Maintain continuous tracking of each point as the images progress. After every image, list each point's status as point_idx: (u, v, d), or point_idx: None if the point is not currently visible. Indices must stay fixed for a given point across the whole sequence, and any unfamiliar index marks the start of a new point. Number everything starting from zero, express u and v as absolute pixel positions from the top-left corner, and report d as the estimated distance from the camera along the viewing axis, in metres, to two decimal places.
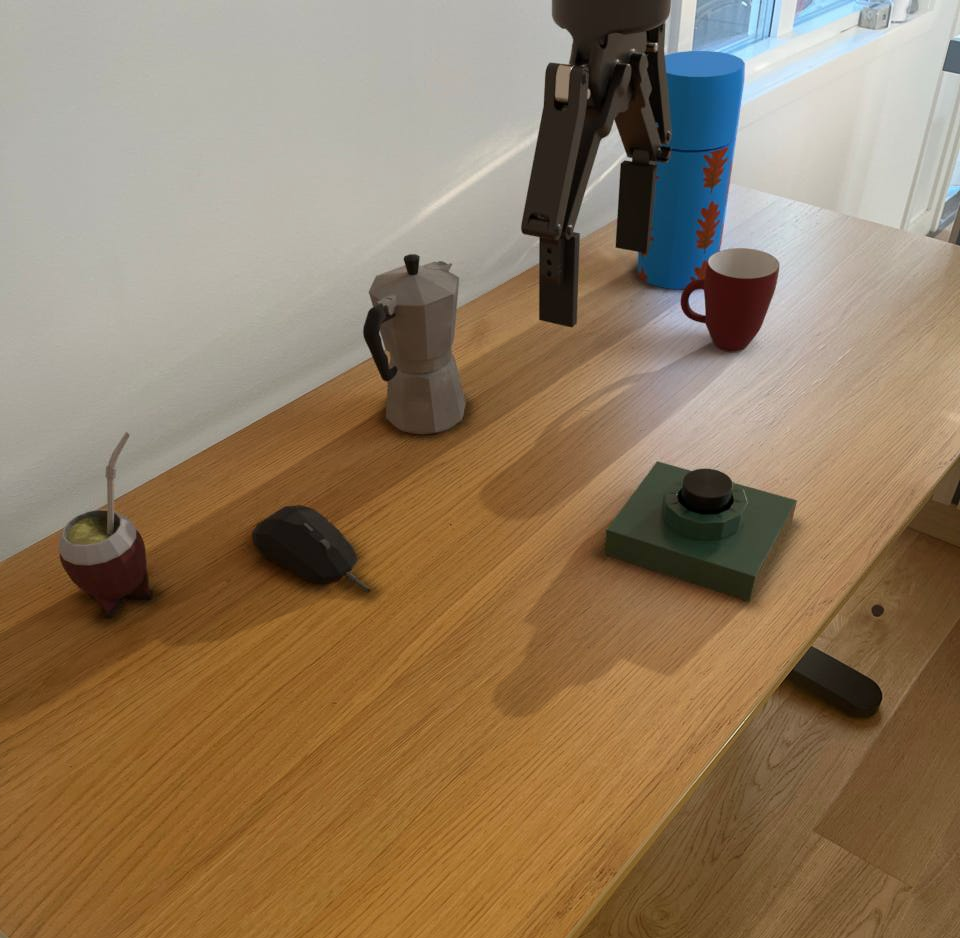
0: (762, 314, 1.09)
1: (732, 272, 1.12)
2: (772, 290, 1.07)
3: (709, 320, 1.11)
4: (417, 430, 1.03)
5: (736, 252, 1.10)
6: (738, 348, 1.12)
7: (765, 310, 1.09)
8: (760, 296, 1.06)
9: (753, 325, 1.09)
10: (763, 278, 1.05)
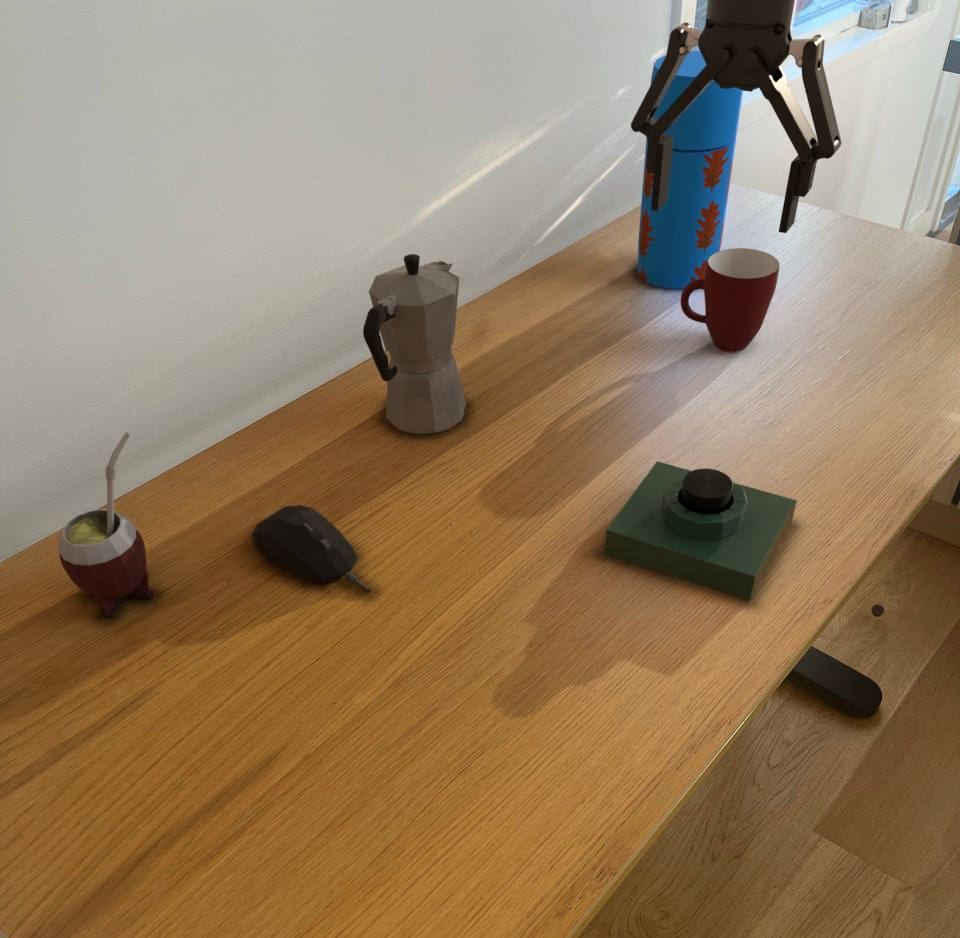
0: (762, 314, 1.09)
1: (732, 272, 1.12)
2: (772, 290, 1.07)
3: (709, 320, 1.11)
4: (417, 430, 1.03)
5: (736, 252, 1.10)
6: (738, 348, 1.12)
7: (765, 310, 1.09)
8: (760, 296, 1.06)
9: (753, 325, 1.09)
10: (763, 278, 1.05)
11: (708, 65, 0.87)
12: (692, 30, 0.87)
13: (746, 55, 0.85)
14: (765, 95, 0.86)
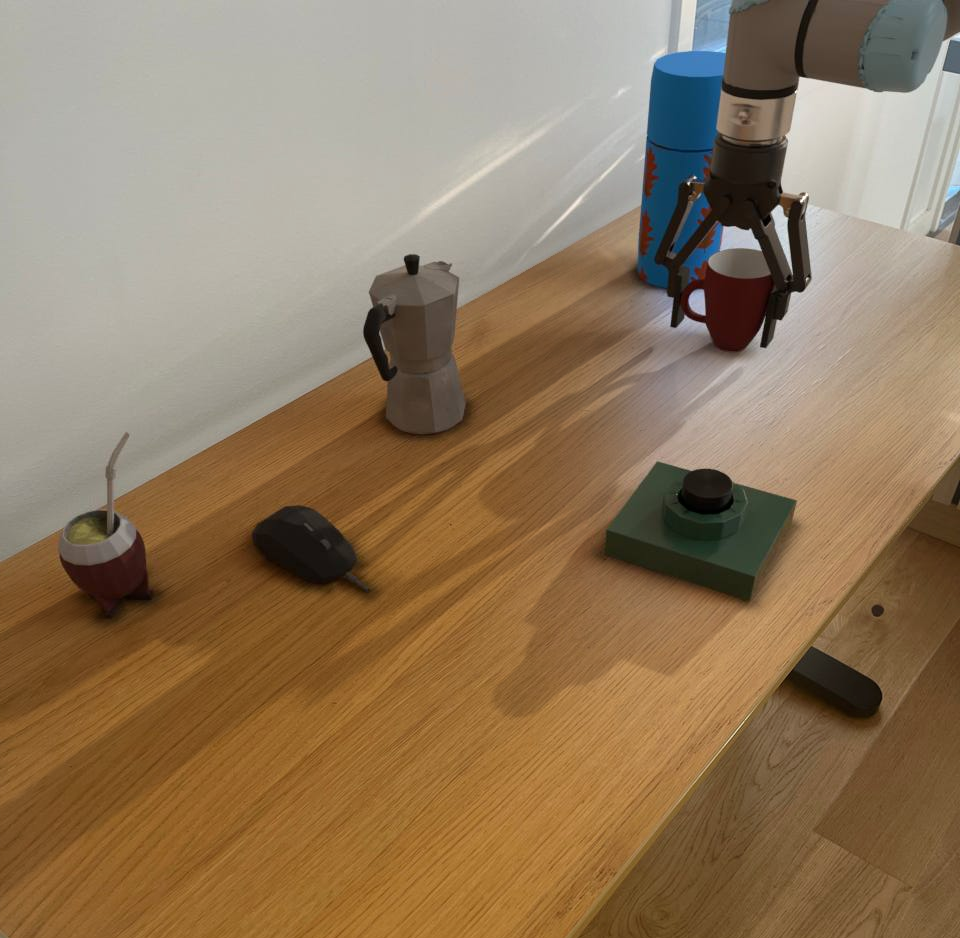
0: (762, 314, 1.09)
1: (732, 272, 1.12)
2: None
3: (709, 320, 1.11)
4: (417, 430, 1.03)
5: (736, 252, 1.10)
6: (738, 348, 1.12)
7: (765, 310, 1.09)
8: (760, 296, 1.06)
9: (753, 325, 1.09)
10: (763, 278, 1.05)
11: (713, 210, 1.03)
12: (697, 181, 1.03)
13: (744, 203, 1.01)
14: (755, 236, 1.03)
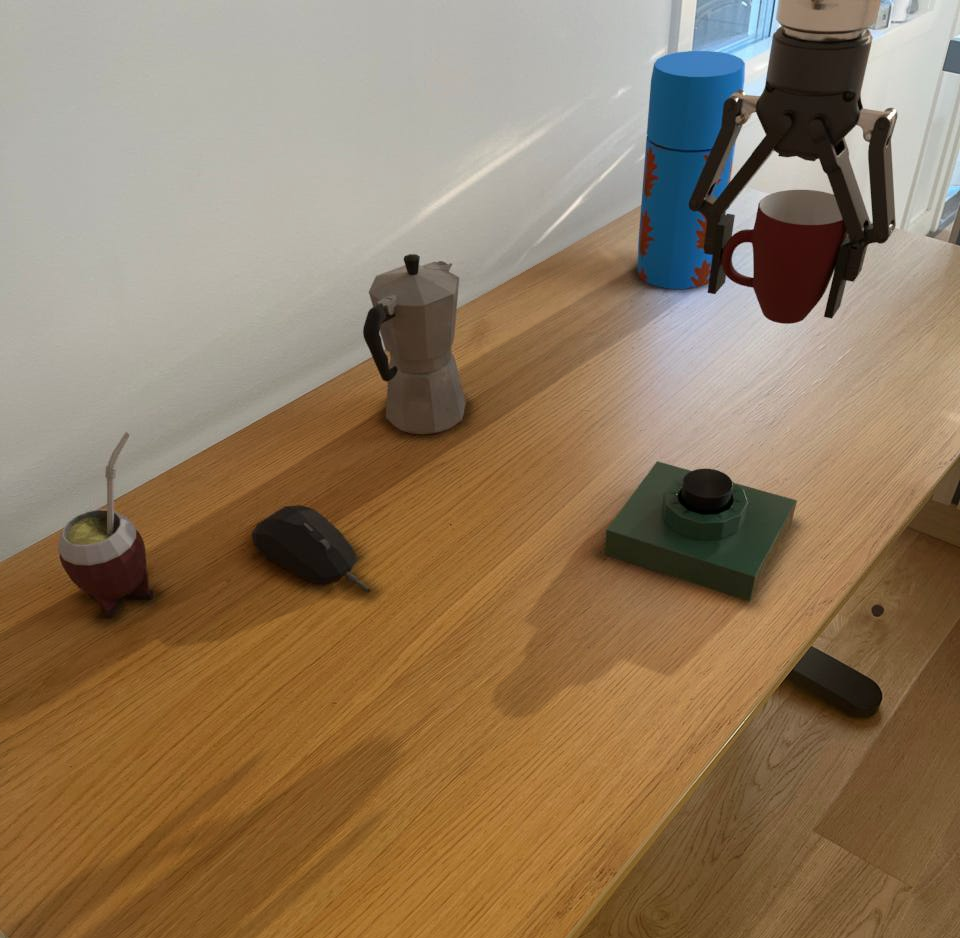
0: (828, 274, 0.84)
1: (788, 221, 0.87)
2: None
3: (759, 282, 0.87)
4: (417, 430, 1.03)
5: (794, 195, 0.86)
6: (795, 319, 0.88)
7: (832, 269, 0.84)
8: (828, 249, 0.82)
9: (816, 288, 0.85)
10: (833, 225, 0.80)
11: (768, 135, 0.79)
12: (747, 97, 0.79)
13: (811, 122, 0.76)
14: (824, 168, 0.78)
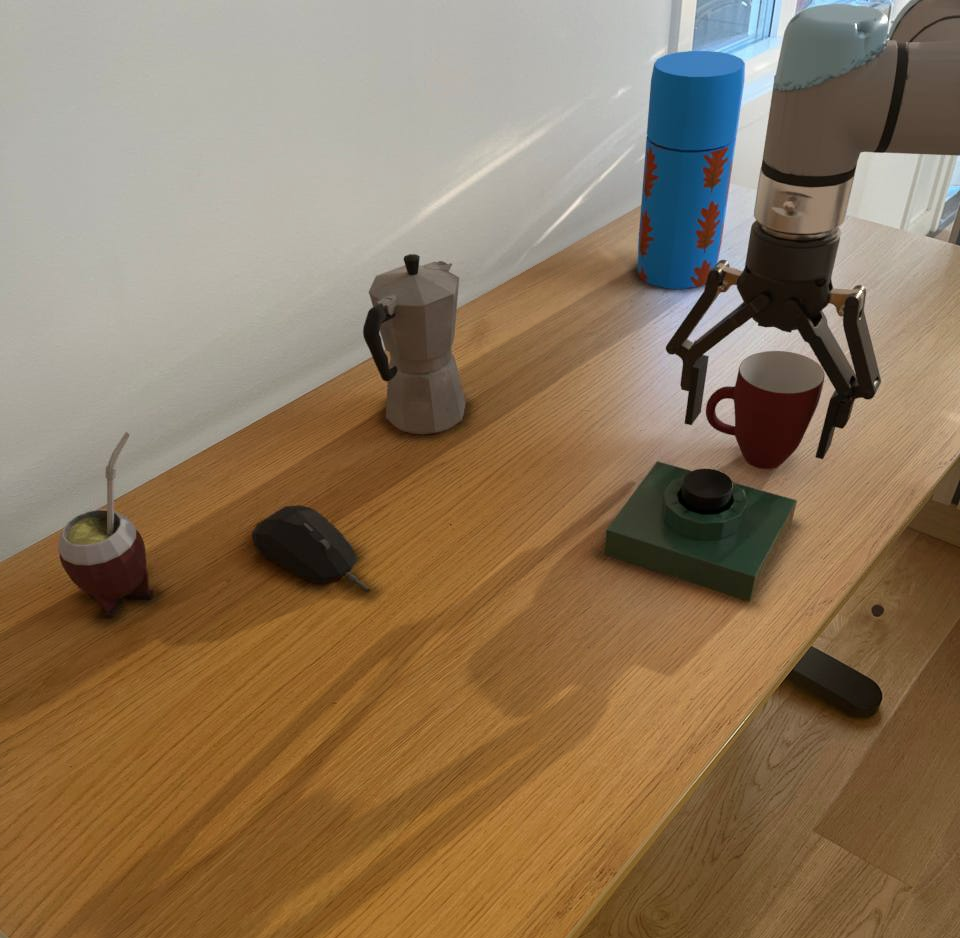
0: (803, 430, 0.92)
1: (766, 377, 0.95)
2: (816, 404, 0.90)
3: (740, 434, 0.94)
4: (417, 430, 1.03)
5: (771, 355, 0.94)
6: (773, 465, 0.96)
7: (806, 425, 0.92)
8: (802, 412, 0.90)
9: (792, 442, 0.93)
10: (806, 393, 0.88)
11: (747, 306, 0.86)
12: (730, 270, 0.86)
13: (786, 303, 0.84)
14: (805, 339, 0.85)
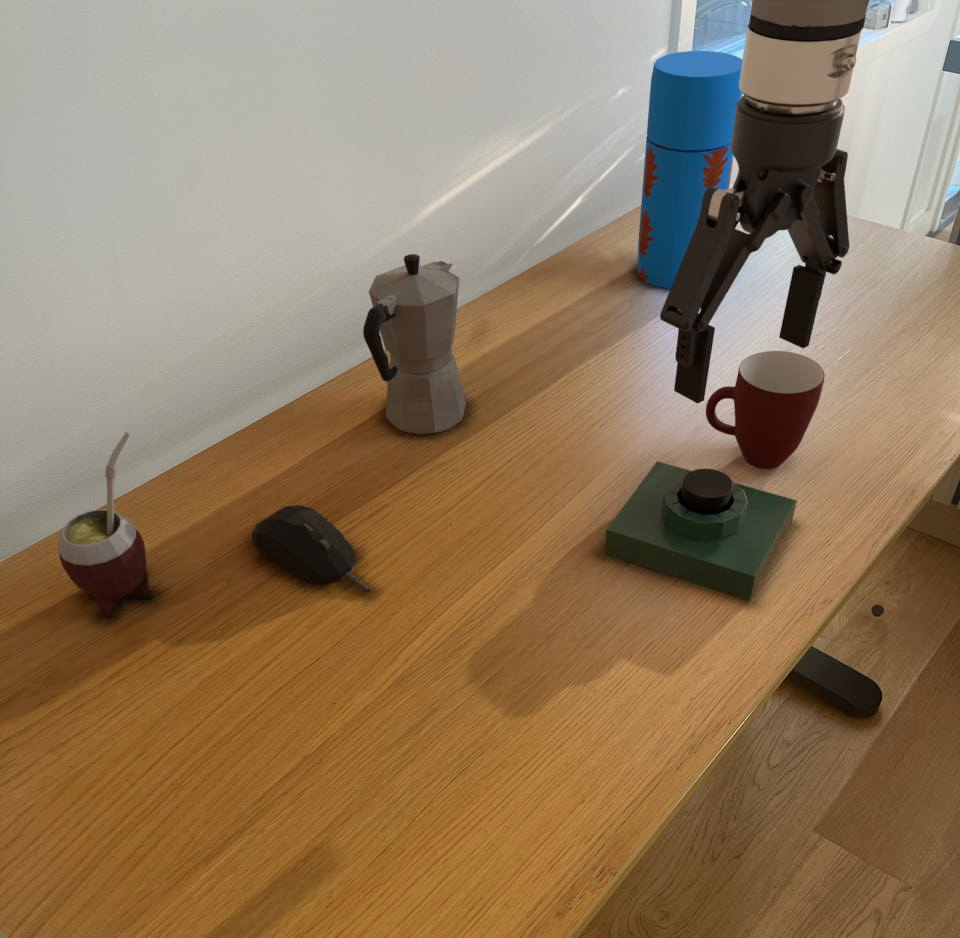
0: (803, 430, 0.92)
1: (766, 377, 0.95)
2: (816, 404, 0.90)
3: (740, 434, 0.94)
4: (417, 430, 1.03)
5: (771, 355, 0.94)
6: (773, 465, 0.96)
7: (806, 425, 0.92)
8: (802, 412, 0.90)
9: (792, 442, 0.93)
10: (806, 393, 0.88)
11: (767, 219, 0.70)
12: (733, 191, 0.68)
13: (803, 191, 0.71)
14: (811, 224, 0.74)
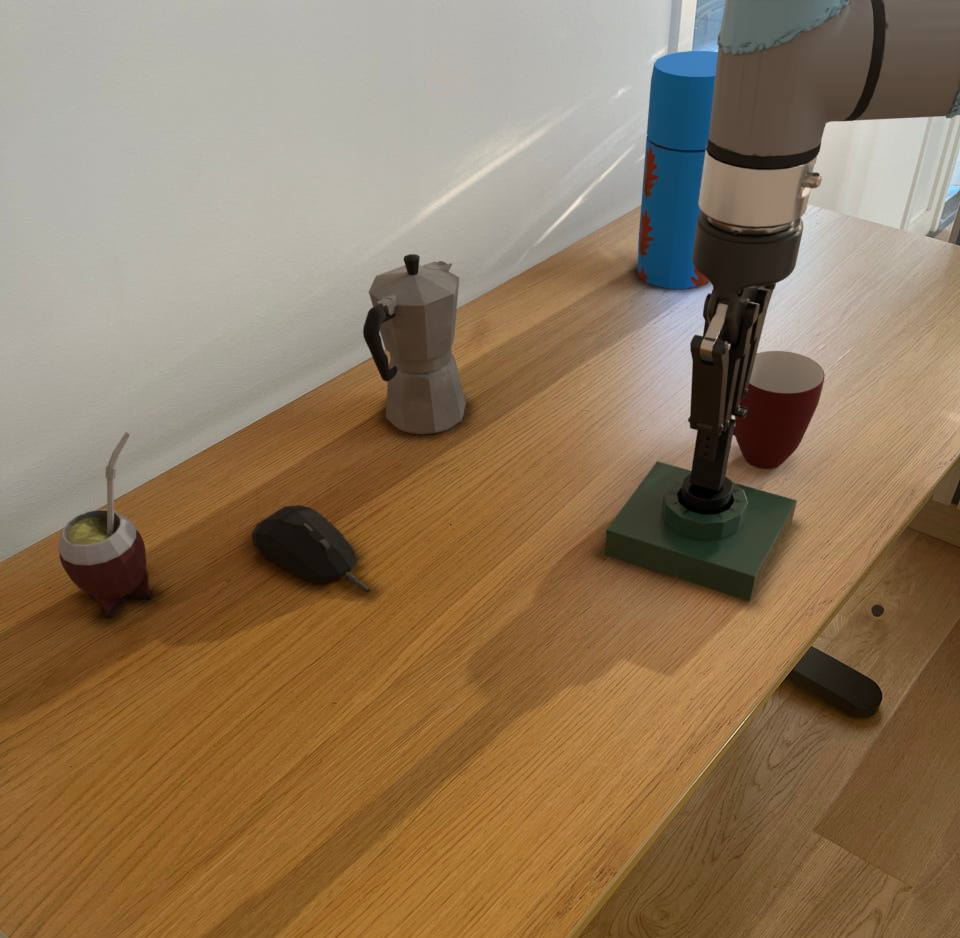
0: (803, 430, 0.92)
1: (766, 377, 0.95)
2: (816, 404, 0.90)
3: (740, 434, 0.94)
4: (417, 430, 1.03)
5: (771, 355, 0.94)
6: (773, 465, 0.96)
7: (806, 425, 0.92)
8: (802, 412, 0.90)
9: (792, 442, 0.93)
10: (806, 393, 0.88)
11: (747, 333, 0.72)
12: (714, 331, 0.69)
13: (767, 292, 0.72)
14: (754, 339, 0.74)
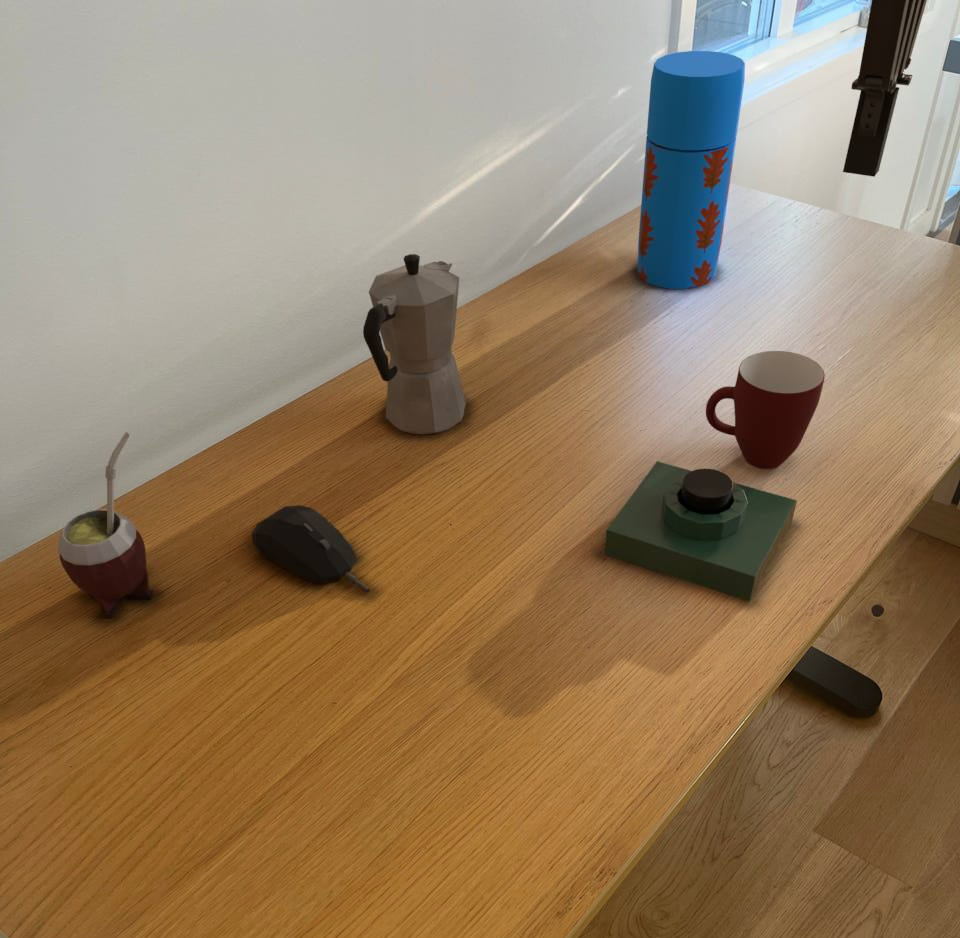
0: (803, 430, 0.92)
1: (766, 377, 0.95)
2: (816, 404, 0.90)
3: (740, 434, 0.94)
4: (417, 430, 1.03)
5: (771, 355, 0.94)
6: (773, 465, 0.96)
7: (806, 425, 0.92)
8: (802, 412, 0.90)
9: (792, 442, 0.93)
10: (806, 393, 0.88)
11: None
12: None
13: None
14: None
